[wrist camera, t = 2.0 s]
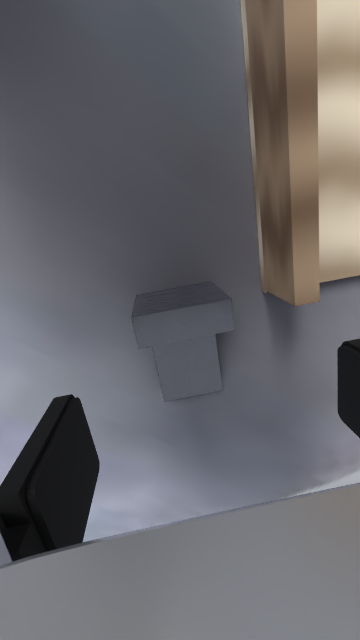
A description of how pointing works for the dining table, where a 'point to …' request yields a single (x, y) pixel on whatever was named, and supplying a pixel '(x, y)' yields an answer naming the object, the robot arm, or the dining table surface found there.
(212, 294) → the gray t-shaped block
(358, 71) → the corner arena
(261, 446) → the dining table surface
